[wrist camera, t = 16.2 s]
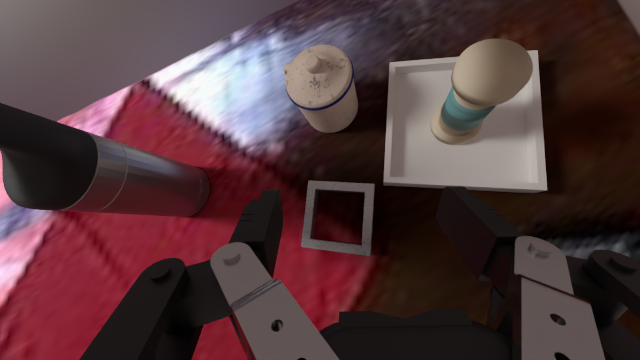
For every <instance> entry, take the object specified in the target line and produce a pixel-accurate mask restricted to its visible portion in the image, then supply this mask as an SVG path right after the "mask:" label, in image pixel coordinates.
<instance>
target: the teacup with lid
mask: <svg viewBox="0 0 640 360" xmlns="http://www.w3.org/2000/svg"><path fill="white" fill-rule="evenodd" d="M284 73H285V74H286V90H287V94H288V96H289V98H290V99H291V101H292V102H293V103H294V104H295V105H297V106H298V107H299V109H300V110H301V112H302V113H303V114H304V116H305V117H306V119H307V120H308V121H309V123H310V124H311V125H312V126H313V127H314V128H315V129H317V130H318V131H321V132H325V133H333V132H337V131H340V130H342V129H344V128H346V127H347V126H348V125H349V124H350V123H351V122H352V121H353V120H354V118H355V116H356V114H357V111H358V99H357V94H356V89H355V84H354V79H353V76H354V70H353V65H352V62H351V60H350V59H349V57H348V56H347V55H346V54H345V53H344V52H343V51H342V50H341V49H339V48H337V47H334V46H331V45H317V46H313V47H310V48H308V49H306V50H304V51H303V52H301V53H300V54H299V55H298V56H297V57H296V58H295V59H294V60H293V61H292V63H288V64H286V65H285V67H284Z"/></svg>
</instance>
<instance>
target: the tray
mask: <svg viewBox="0 0 640 360" xmlns="http://www.w3.org/2000/svg"><path fill="white" fill-rule="evenodd" d="M527 52H528V53H529V55H530V57H531V59H532V63H533V72H532V75H531V78H530V80H529V82H528V83H527V84H526V85H525V86H524V87H523V88H522V89H521V90H520V91H519V92H518V93H517V94H516V95H515V96H514V97H513V98H512V99H510V100H508V101H507V102H504V103H502V104H499V105H497V106H496V107H495V108H494V109H493V110H492V111H491V112H490V113H489V114H488V115H487V117H486V118H485V119H484V120H483V123H482V127H481V129H480V131H479V132H478V134H477V135H476V136H475V137H474V138H472V139H471V140H470V141H468V142H467V143H464V144H461V145H448V144H445V143H442V142H441V141H439V140H438V139H437V138H436V137H435V136H434V135H433V133H432V131H431V126H430V124H431V119H432V117H433V114H434V112H435V111H436V109H437V108H438V107H439V106H440V105H442V104H444V102H445V100H446V98H447V96H448V94H449V92H450V90H451V88H452V83H451V75H452V71H453V69H454V66H455V64H456V62H457V60H458V58H459V57H450V58H438V59H426V60H414V61H402V62H390V67H389V86H388V106H387V125H386V144H385V164H384V185H385V186H404V187H424V188H443V189H444V188H445V187H446V186H464V187H465V188H466V189H467V190H481V191H500V192H519V193H537V192H542V191H546V190H547V179H546V164H545V150H544V136H543V121H542V107H541V93H540V78H539V64H538V50H533V51H527Z"/></svg>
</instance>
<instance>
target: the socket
mask: <svg viewBox="0 0 640 360" xmlns="http://www.w3.org/2000/svg"><path fill="white" fill-rule="evenodd" d="M319 191H328V192H343V193H359V194H365V201H364V216H363V231H362V244H355V243H346V242H338V241H330V240H322V239H314V235H315V225H316V215H317V205H318V195H319ZM374 194H375V184H367V183H347V182H328V181H308V189H307V198H306V207H305V217H304V226H303V235H302V244H301V247H306V248H313V249H321V250H328V251H336V252H343V253H351V254H358V255H366V256H371V246H372V229H373V212H374Z"/></svg>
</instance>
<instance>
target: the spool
mask: <svg viewBox="0 0 640 360" xmlns="http://www.w3.org/2000/svg"><path fill="white" fill-rule="evenodd" d="M532 72H533V63H532V59H531V57H530V55H529V53H528V52H527V51H526V50H525V49H524V48H523V47H522V46H520V45H519V44H517V43H515V42H512V41H509V40H505V39H488V40H483V41H480V42H477V43H475V44H473V45H471V46H470V47H468V48H467V49H466V50H465V51H464V52H463V53H462V54H461V55H460V56H459V58H458V60H457V62H456V64H455V66H454V69H453V71H452V75H451V83H452V88H451V90H450V92H449V94H448V96H447V98H446V100H445V102H444V104H442V105H440V106H439V107H438V108H437V109H436V111H435V112H434V114H433V117H432V119H431V124H430V126H431V131H432V133H433V135H434V136H435V137H436V138H437V139H438V140H439V141H441V142H442V143H445V144H448V145H461V144H464V143H467V142H468V141H470V140H471V139H472V138H474V137H475V136H476V135H477V134H478V132H479V131H480V129H481V127H482V123H483V120H484V119H485V118H486V117H487V115H488V114H489V113H490V112H491V111H492V110H493V109H494V108H495V107H496V106H497V105H499V104H502V103H504V102H507V101H508V100H510V99H512V98H513V97H514V96H515V95H516V94H517V93H518V92H519V91H520V90H521V89H522V88H523V87H524V86H525V85H526V84H527V83H528V82H529V80H530V78H531V75H532Z"/></svg>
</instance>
